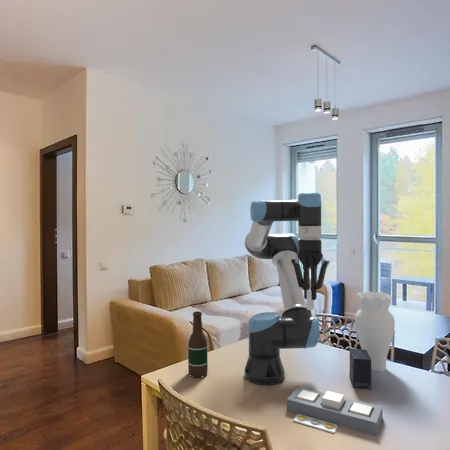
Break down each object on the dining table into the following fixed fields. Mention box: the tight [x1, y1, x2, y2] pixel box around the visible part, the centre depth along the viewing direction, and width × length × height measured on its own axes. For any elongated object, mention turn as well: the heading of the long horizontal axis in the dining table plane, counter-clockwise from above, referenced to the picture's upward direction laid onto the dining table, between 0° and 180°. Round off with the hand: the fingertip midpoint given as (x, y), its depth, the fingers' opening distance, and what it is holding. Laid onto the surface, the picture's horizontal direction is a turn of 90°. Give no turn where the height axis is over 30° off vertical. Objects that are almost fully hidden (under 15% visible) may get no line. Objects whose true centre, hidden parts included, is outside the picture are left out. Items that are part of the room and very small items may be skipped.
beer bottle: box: [187, 310, 209, 378], centre depth 141 cm, size 8×8×24 cm
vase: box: [354, 291, 396, 372], centre depth 145 cm, size 15×15×29 cm
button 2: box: [322, 390, 345, 410], centre depth 110 cm, size 5×5×2 cm
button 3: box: [350, 402, 372, 418], centre depth 106 cm, size 5×5×2 cm
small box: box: [349, 347, 372, 390], centre depth 132 cm, size 11×6×10 cm, turn 168°
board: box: [286, 386, 384, 436], centre depth 110 cm, size 26×10×4 cm, turn 58°
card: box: [292, 413, 339, 434], centre depth 105 cm, size 12×4×1 cm, turn 58°
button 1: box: [297, 390, 319, 403], centre depth 114 cm, size 5×5×2 cm
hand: (310, 309), depth 122 cm, fingers closed
